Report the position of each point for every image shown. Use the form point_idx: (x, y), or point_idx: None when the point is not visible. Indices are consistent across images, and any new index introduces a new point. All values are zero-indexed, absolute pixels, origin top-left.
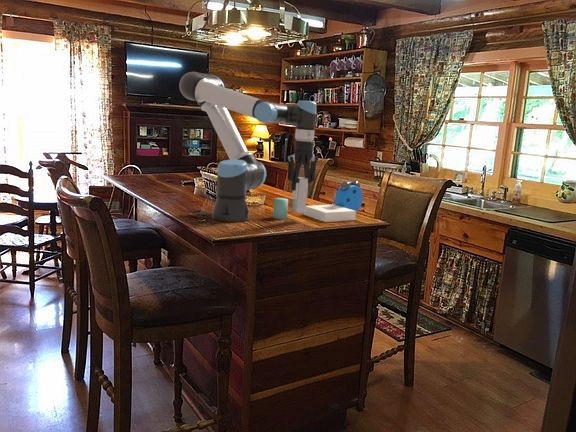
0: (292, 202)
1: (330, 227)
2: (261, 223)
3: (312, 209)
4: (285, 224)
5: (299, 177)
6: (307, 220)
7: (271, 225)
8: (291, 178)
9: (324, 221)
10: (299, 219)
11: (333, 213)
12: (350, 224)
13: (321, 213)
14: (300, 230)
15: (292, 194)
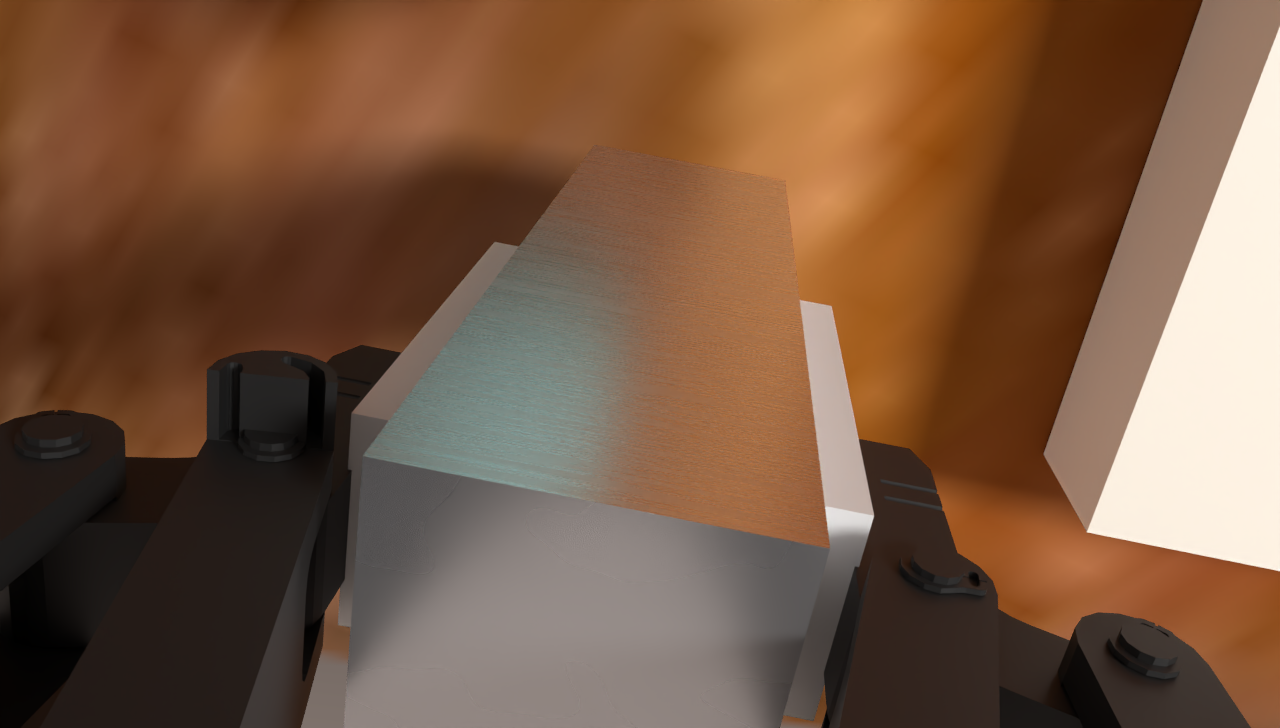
0: (567, 181)
1: (824, 702)
2: (43, 73)
3: (1243, 94)
4: (357, 294)
5: (563, 583)
6: (890, 231)
7: (126, 252)
8: (11, 672)
9: (1047, 450)
10: (824, 104)
11: (1259, 556)
12: (1257, 721)
13: (1114, 406)
14: (339, 632)
15: (472, 271)
